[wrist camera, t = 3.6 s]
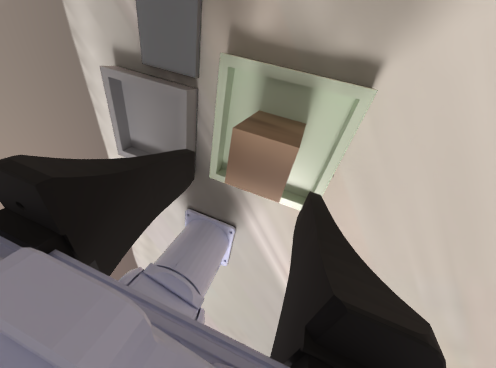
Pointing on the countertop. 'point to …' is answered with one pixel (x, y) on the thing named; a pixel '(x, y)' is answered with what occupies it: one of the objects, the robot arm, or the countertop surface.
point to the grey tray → (149, 112)
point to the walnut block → (263, 154)
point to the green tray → (292, 107)
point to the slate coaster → (170, 34)
